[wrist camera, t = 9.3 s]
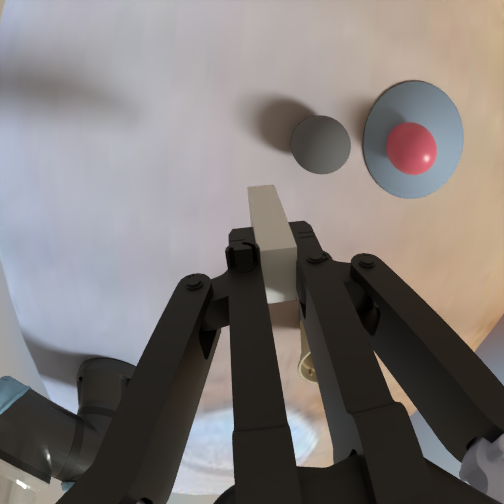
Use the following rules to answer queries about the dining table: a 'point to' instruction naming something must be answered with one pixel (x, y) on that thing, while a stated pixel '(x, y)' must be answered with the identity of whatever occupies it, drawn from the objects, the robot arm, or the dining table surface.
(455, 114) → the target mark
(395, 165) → the cranberry ball
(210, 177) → the dining table surface
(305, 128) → the grey ball
